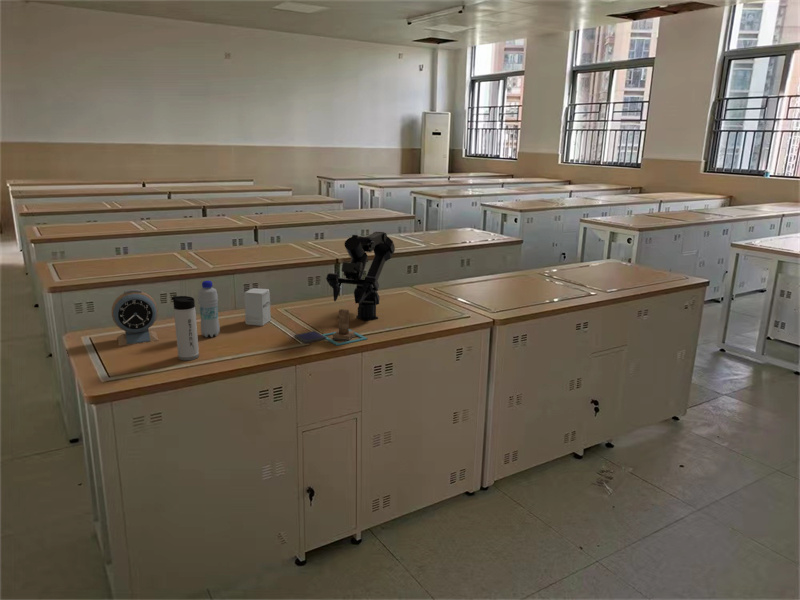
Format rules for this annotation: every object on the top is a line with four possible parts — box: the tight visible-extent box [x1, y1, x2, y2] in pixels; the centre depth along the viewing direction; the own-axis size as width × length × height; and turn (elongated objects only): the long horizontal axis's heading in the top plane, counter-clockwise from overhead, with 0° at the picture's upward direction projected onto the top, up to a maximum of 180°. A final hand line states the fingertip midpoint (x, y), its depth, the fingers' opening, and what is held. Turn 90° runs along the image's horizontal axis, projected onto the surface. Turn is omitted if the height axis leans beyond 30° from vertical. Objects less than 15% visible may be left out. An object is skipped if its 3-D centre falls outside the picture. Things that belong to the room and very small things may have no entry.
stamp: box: [332, 308, 356, 342], centre depth 201 cm, size 6×6×10 cm
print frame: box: [321, 328, 368, 347], centre depth 202 cm, size 12×12×1 cm
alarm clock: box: [111, 288, 159, 347], centre depth 194 cm, size 14×10×18 cm
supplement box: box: [243, 287, 272, 327], centre depth 215 cm, size 7×7×13 cm
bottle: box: [197, 280, 221, 338], centre depth 199 cm, size 7×7×20 cm
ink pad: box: [294, 330, 327, 344], centre depth 201 cm, size 8×8×1 cm
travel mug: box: [171, 295, 200, 362], centre depth 178 cm, size 6×7×20 cm
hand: (346, 302), depth 202 cm, fingers open, 9 cm apart
